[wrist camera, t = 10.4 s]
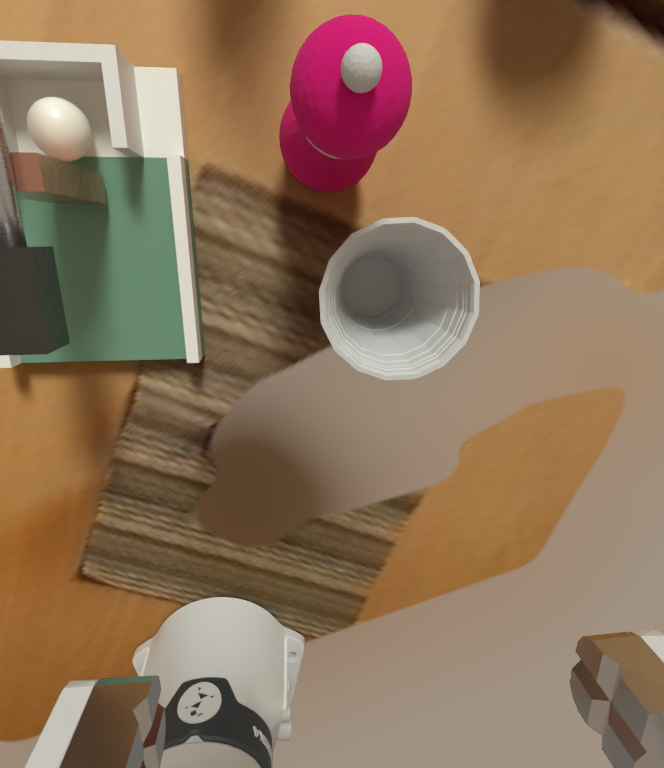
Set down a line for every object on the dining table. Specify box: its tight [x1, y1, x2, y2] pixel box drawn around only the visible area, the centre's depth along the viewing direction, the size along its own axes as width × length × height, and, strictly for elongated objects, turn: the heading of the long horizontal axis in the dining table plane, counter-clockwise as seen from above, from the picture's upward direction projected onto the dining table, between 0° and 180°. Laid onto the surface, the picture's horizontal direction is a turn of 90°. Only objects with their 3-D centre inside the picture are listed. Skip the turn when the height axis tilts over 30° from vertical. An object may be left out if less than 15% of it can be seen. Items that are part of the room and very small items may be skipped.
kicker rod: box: [0, 108, 107, 355], centre depth 29 cm, size 23×4×12 cm, turn 0°
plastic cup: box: [319, 217, 480, 381], centre depth 36 cm, size 11×11×12 cm
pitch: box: [0, 41, 205, 368], centre depth 35 cm, size 22×16×6 cm
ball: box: [27, 97, 92, 161], centre depth 33 cm, size 4×4×4 cm
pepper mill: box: [279, 15, 412, 192], centre depth 28 cm, size 7×7×20 cm
